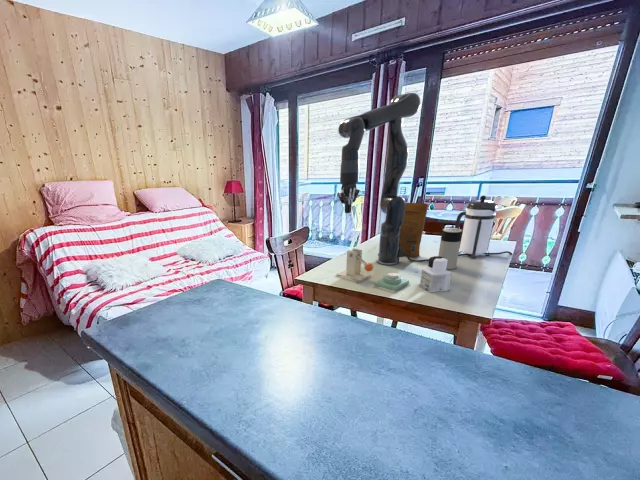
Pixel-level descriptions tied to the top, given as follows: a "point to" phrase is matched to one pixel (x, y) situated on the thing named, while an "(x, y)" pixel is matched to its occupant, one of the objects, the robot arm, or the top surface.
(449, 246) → the travel mug
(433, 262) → the container
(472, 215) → the coffee press
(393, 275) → the button
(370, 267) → the switch lever
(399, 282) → the button box
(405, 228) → the pancake mix bag
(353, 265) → the switch bracket
